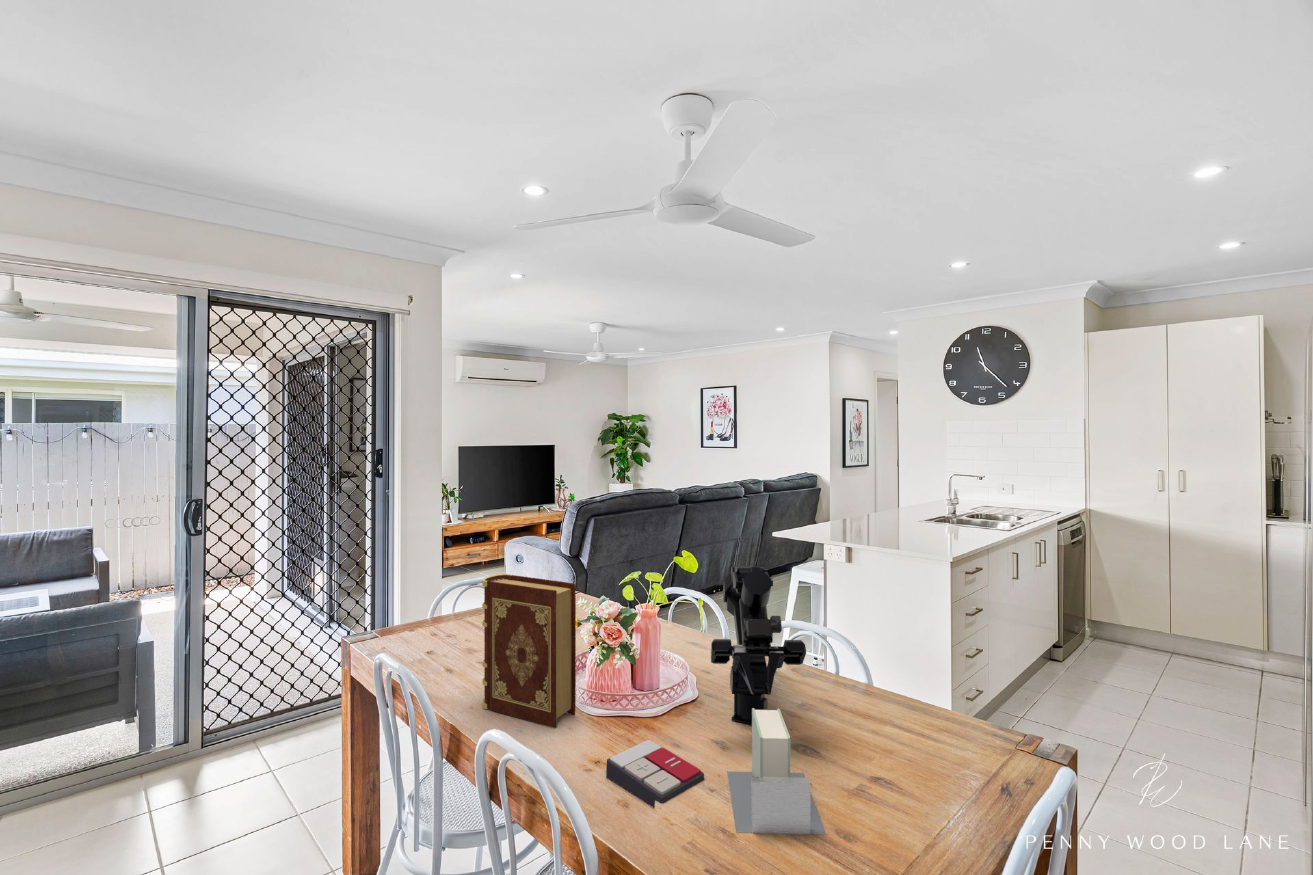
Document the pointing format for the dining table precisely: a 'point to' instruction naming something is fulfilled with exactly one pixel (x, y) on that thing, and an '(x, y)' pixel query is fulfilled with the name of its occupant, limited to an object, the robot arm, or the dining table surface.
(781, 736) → the book
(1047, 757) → the dining table surface
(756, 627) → the robot arm
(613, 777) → the calculator
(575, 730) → the dining table surface
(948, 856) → the dining table surface
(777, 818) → the bookend
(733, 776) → the shelf board
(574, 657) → the decorative book
